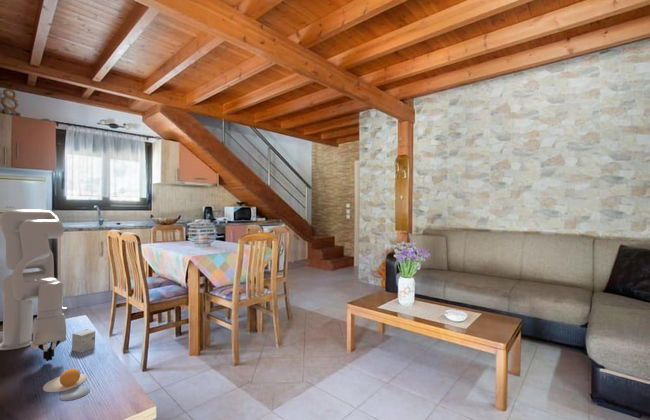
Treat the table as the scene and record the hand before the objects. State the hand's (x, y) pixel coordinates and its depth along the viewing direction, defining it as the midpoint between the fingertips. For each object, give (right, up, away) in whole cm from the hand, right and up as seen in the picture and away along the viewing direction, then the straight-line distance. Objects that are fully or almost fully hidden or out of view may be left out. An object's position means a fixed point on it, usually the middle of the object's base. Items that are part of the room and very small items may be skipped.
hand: (48, 359), depth 126 cm
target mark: (+17, -2, -13) cm, 22 cm away
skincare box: (+3, -2, +14) cm, 14 cm away
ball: (+20, +1, -15) cm, 25 cm away
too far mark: (+26, -2, -20) cm, 33 cm away
